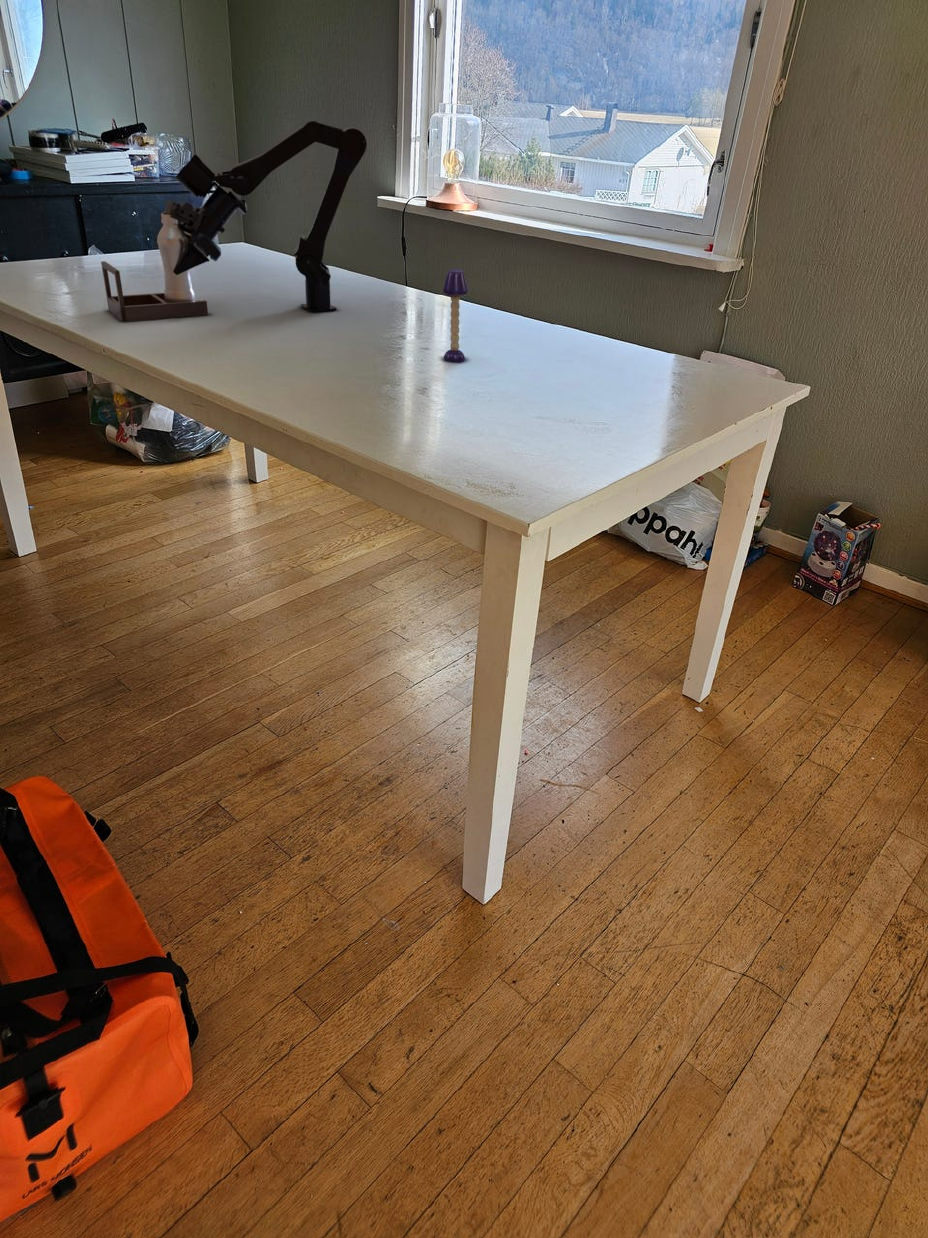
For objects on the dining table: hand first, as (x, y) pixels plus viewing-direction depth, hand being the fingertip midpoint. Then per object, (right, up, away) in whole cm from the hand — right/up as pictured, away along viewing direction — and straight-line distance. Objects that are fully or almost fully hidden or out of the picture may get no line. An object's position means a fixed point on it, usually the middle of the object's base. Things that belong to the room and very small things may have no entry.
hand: (170, 270), depth 186 cm
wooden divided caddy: (-4, -8, +3) cm, 9 cm away
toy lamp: (+62, -24, -16) cm, 69 cm away
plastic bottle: (+1, -7, +5) cm, 9 cm away
